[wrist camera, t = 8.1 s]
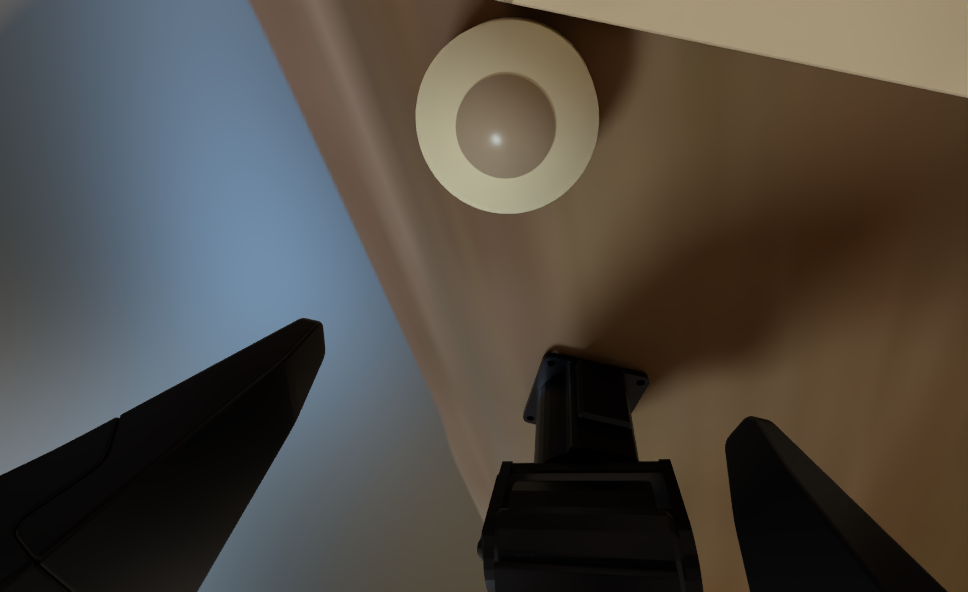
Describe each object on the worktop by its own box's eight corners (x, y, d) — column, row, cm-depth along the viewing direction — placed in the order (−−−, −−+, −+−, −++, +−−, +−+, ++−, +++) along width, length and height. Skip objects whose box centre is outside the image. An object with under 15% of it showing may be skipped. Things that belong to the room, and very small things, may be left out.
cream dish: (567, 205, 20) (568, 229, 18) (424, 175, 20) (410, 196, 18) (619, 37, 16) (628, 44, 14) (438, -1, 16) (421, 1, 14)
